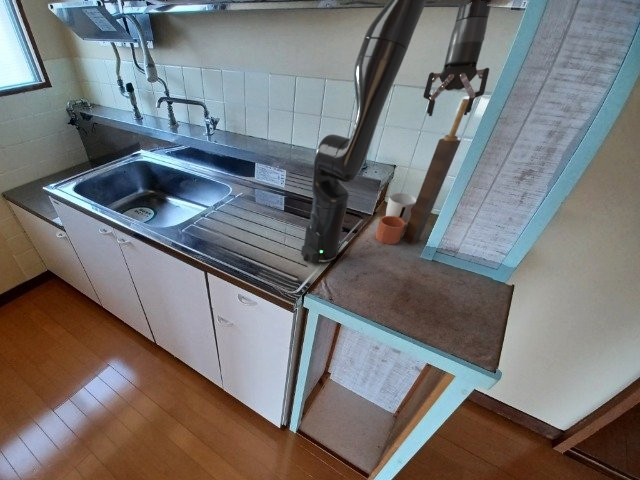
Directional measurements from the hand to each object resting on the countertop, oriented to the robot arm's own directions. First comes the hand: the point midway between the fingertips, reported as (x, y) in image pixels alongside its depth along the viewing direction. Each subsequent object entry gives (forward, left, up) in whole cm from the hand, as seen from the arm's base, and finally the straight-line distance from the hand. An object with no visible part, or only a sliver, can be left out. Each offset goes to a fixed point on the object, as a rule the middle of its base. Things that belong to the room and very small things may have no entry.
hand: (447, 115), depth 91 cm
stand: (-10, -9, -32) cm, 35 cm away
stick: (-10, -9, -2) cm, 14 cm away
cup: (-8, -1, -33) cm, 34 cm away
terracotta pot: (-16, -5, -32) cm, 36 cm away
